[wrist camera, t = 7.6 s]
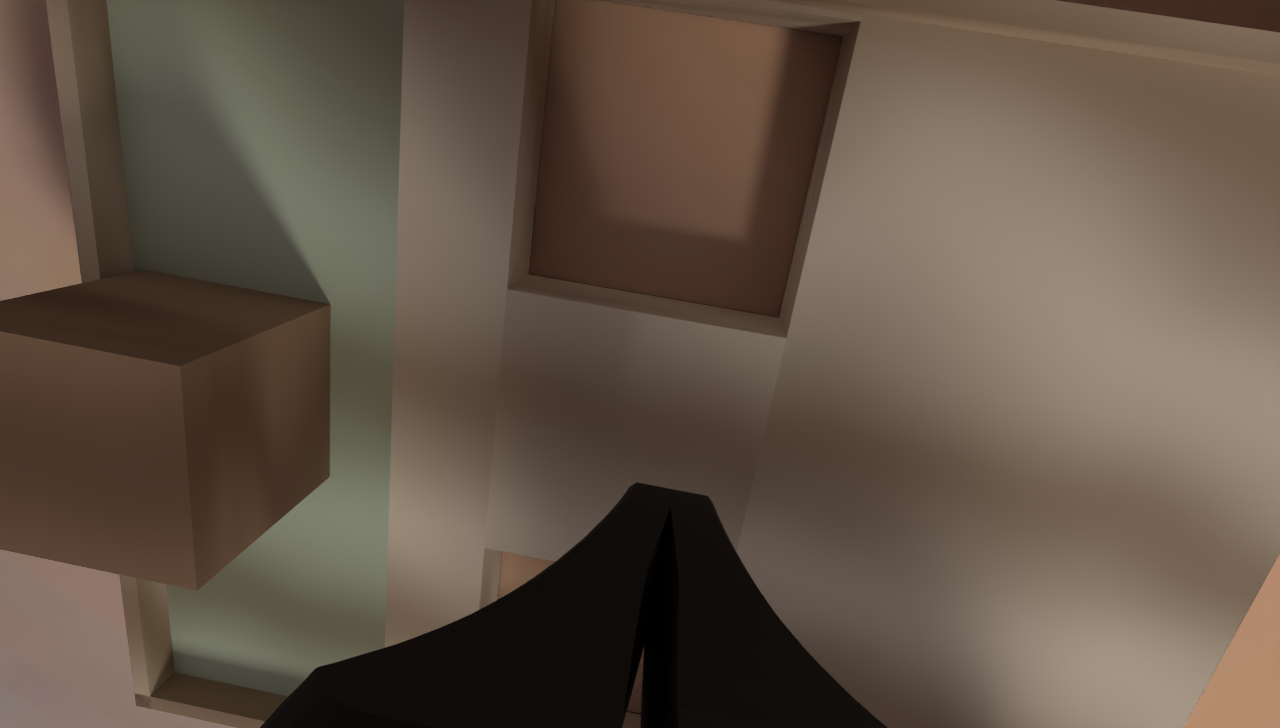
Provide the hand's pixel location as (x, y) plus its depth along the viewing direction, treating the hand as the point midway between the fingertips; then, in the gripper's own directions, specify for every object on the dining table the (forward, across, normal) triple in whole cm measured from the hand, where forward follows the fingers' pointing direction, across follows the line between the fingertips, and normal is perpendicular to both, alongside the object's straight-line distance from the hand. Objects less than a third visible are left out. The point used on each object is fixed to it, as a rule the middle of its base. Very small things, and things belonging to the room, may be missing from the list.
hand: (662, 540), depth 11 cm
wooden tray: (+4, 0, 0) cm, 4 cm away
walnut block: (+3, +9, 0) cm, 10 cm away
